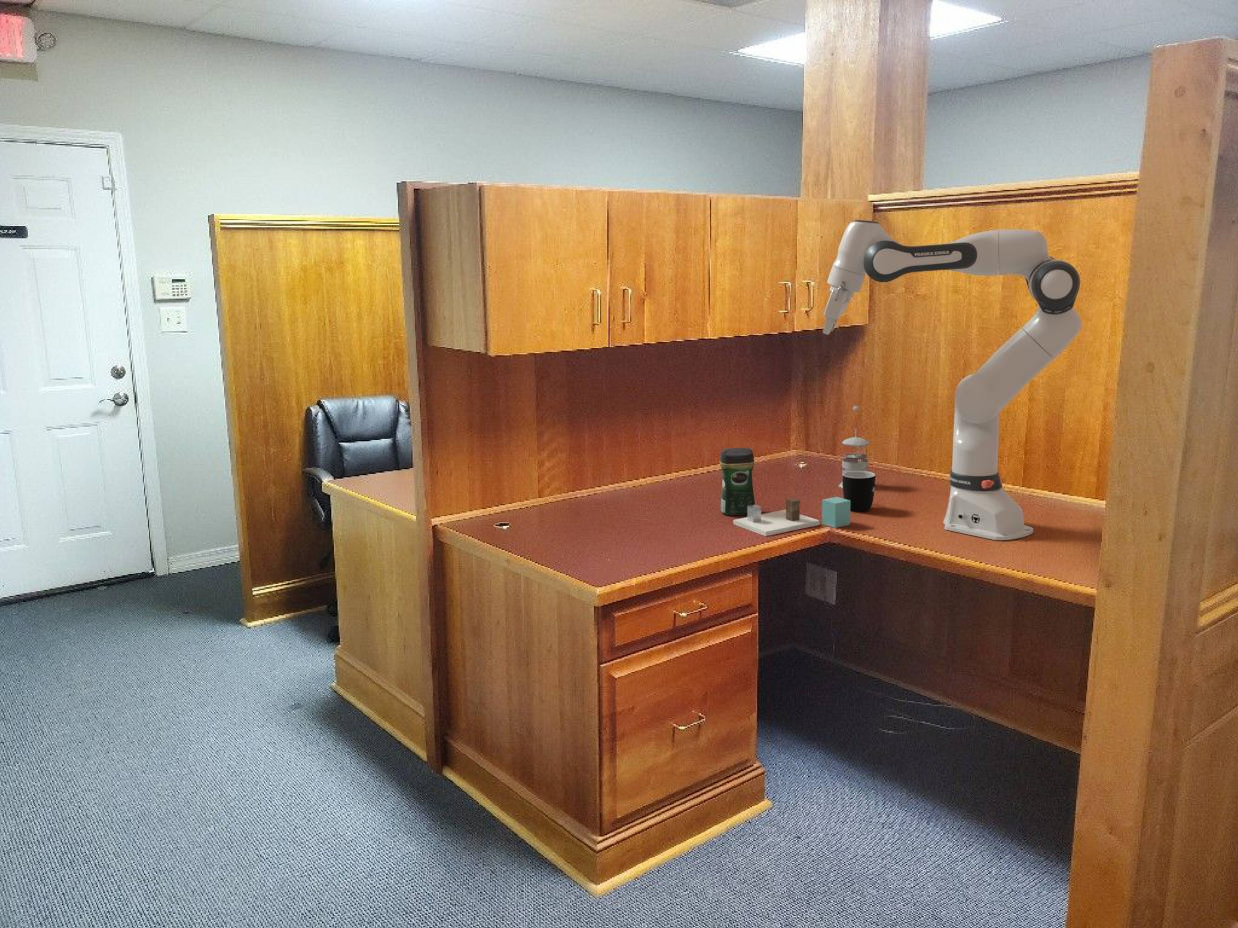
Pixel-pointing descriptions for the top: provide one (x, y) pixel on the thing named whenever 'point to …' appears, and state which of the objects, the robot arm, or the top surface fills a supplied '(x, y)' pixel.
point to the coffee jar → (736, 480)
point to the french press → (855, 454)
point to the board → (775, 523)
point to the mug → (859, 489)
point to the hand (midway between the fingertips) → (827, 332)
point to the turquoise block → (836, 512)
